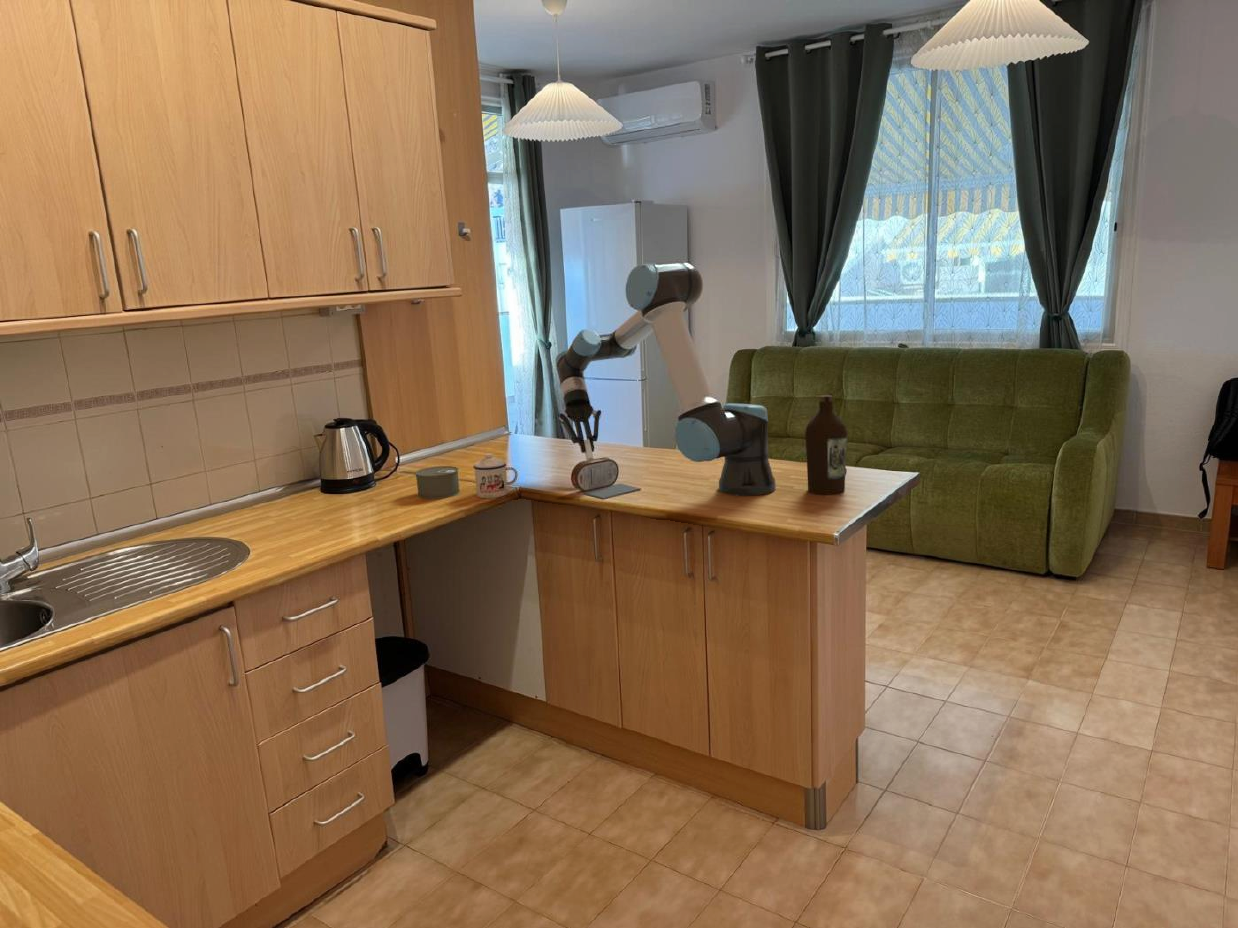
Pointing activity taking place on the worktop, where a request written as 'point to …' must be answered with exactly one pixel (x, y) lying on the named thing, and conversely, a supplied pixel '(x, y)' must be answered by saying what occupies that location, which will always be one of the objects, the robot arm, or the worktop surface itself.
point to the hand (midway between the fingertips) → (590, 460)
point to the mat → (612, 491)
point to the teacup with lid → (492, 477)
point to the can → (437, 482)
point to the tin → (594, 474)
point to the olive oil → (826, 450)
